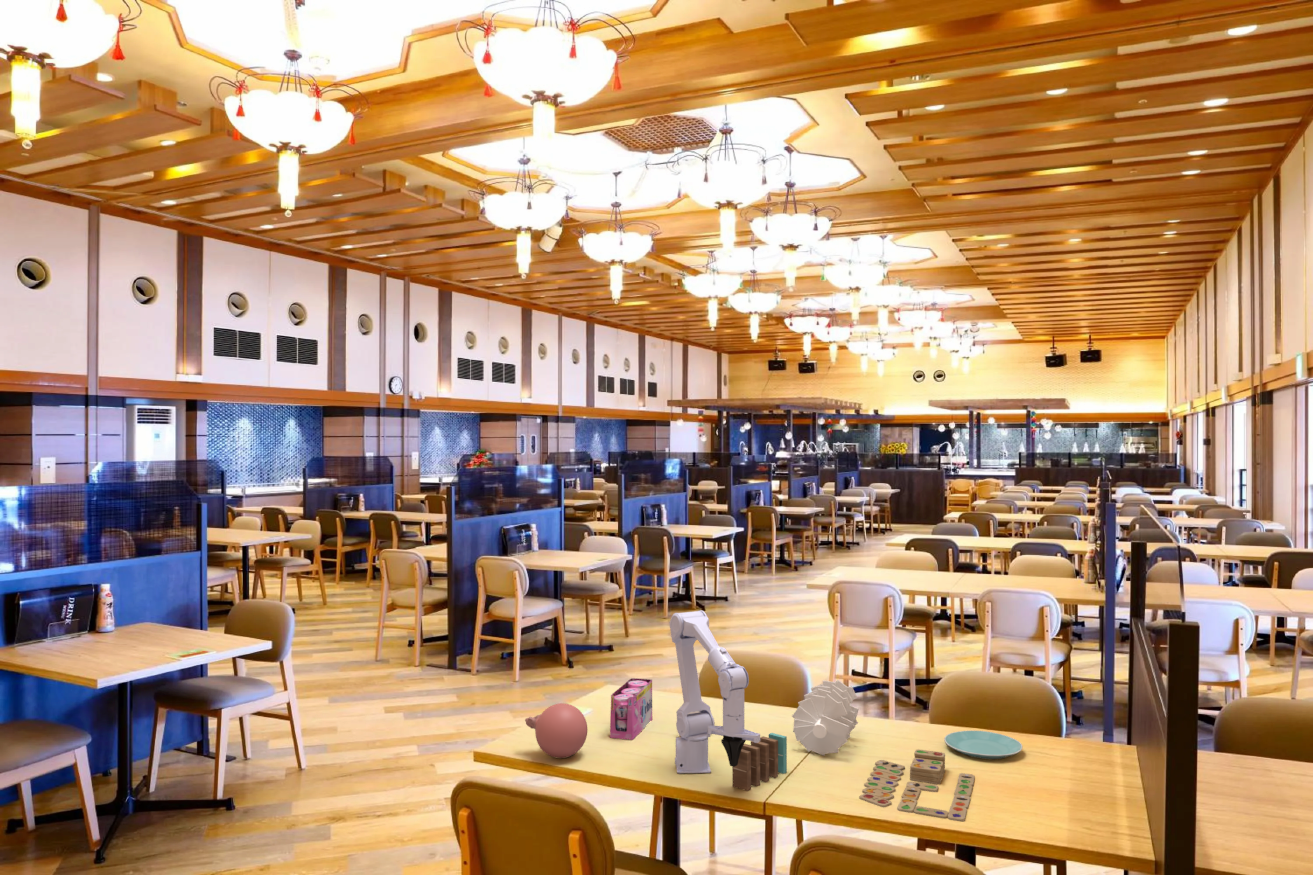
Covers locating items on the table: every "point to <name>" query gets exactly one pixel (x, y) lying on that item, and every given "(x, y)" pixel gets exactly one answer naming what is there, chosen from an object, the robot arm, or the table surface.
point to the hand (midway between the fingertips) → (733, 765)
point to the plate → (983, 744)
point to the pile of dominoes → (918, 785)
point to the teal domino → (781, 751)
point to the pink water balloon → (559, 730)
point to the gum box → (631, 708)
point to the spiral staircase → (825, 717)
